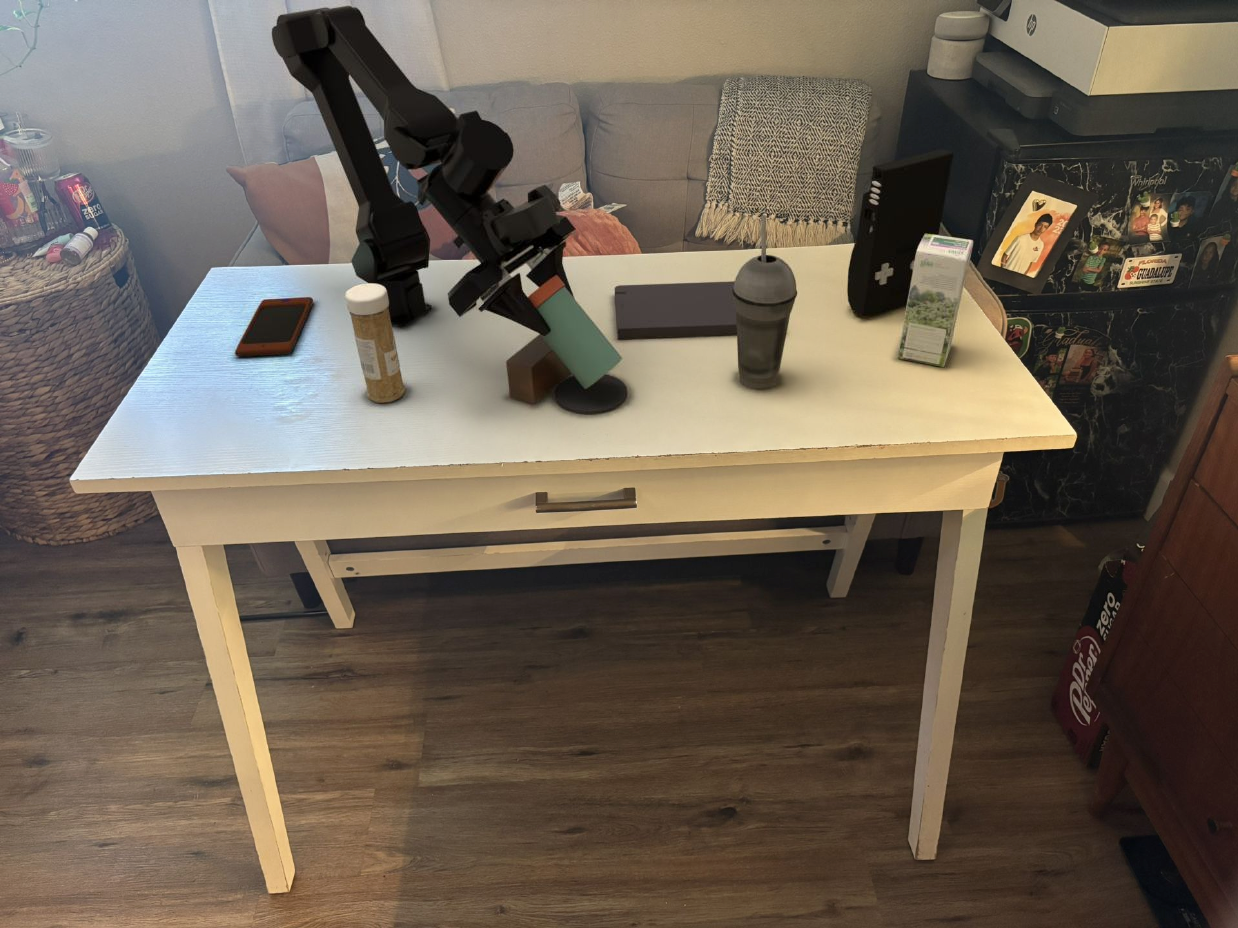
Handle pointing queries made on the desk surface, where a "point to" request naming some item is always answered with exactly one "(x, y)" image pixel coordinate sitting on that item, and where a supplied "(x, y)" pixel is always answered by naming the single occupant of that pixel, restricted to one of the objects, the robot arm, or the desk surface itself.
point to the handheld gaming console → (895, 229)
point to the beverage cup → (762, 315)
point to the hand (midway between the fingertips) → (561, 322)
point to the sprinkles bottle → (375, 341)
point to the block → (534, 371)
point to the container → (574, 333)
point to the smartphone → (274, 327)
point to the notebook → (675, 310)
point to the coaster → (591, 395)
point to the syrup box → (934, 298)
